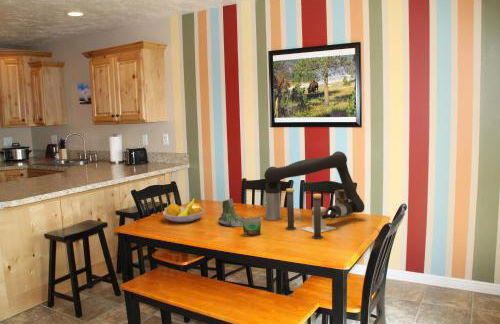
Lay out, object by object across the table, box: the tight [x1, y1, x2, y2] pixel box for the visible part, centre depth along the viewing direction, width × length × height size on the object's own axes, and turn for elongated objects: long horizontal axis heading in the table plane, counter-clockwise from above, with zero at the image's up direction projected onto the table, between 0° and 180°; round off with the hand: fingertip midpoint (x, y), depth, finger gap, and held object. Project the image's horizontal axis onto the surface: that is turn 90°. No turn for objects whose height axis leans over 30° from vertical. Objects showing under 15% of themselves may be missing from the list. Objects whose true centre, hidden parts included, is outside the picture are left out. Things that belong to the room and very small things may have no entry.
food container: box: [241, 215, 263, 237], centre depth 232 cm, size 12×6×10 cm, turn 105°
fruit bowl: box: [162, 197, 205, 223], centre depth 271 cm, size 28×27×11 cm
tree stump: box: [218, 198, 244, 228], centre depth 258 cm, size 18×20×18 cm
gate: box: [285, 188, 324, 240], centre depth 232 cm, size 28×6×24 cm, turn 35°
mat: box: [301, 224, 337, 234], centre depth 240 cm, size 12×16×1 cm
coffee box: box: [334, 189, 352, 217], centre depth 270 cm, size 9×6×16 cm
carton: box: [311, 206, 327, 230], centre depth 239 cm, size 6×6×12 cm
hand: (317, 215), depth 239 cm, fingers open, 8 cm apart
